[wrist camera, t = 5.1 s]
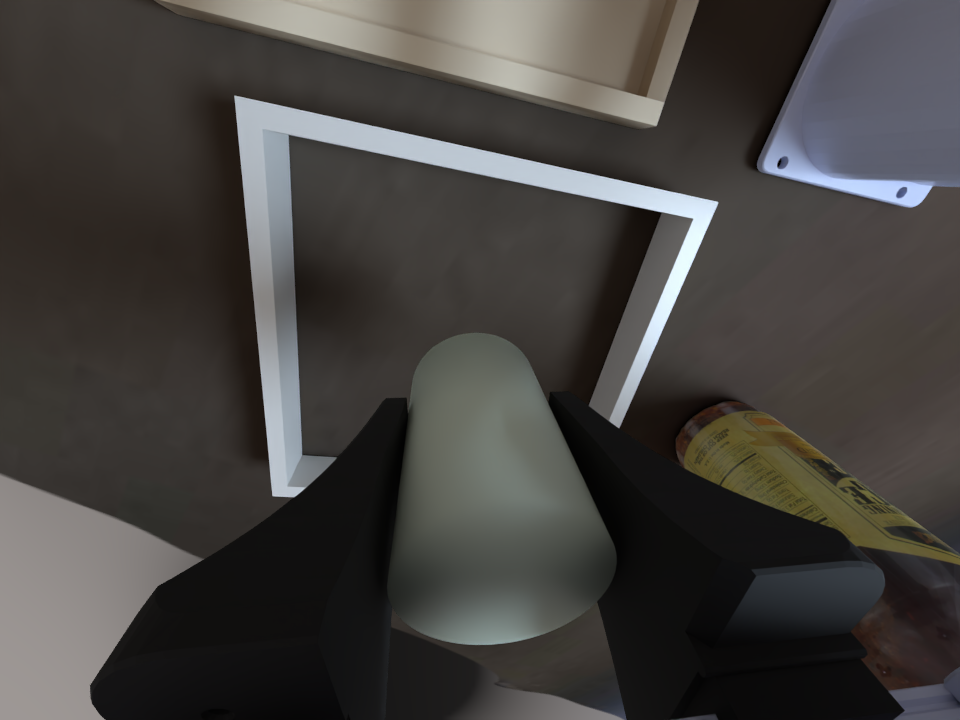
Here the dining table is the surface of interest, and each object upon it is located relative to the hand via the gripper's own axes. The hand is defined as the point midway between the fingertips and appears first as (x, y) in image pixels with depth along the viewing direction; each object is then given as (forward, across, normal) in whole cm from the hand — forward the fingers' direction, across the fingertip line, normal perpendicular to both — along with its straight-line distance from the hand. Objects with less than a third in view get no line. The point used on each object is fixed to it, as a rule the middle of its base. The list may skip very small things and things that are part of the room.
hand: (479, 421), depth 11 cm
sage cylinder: (+2, 0, 0) cm, 2 cm away
